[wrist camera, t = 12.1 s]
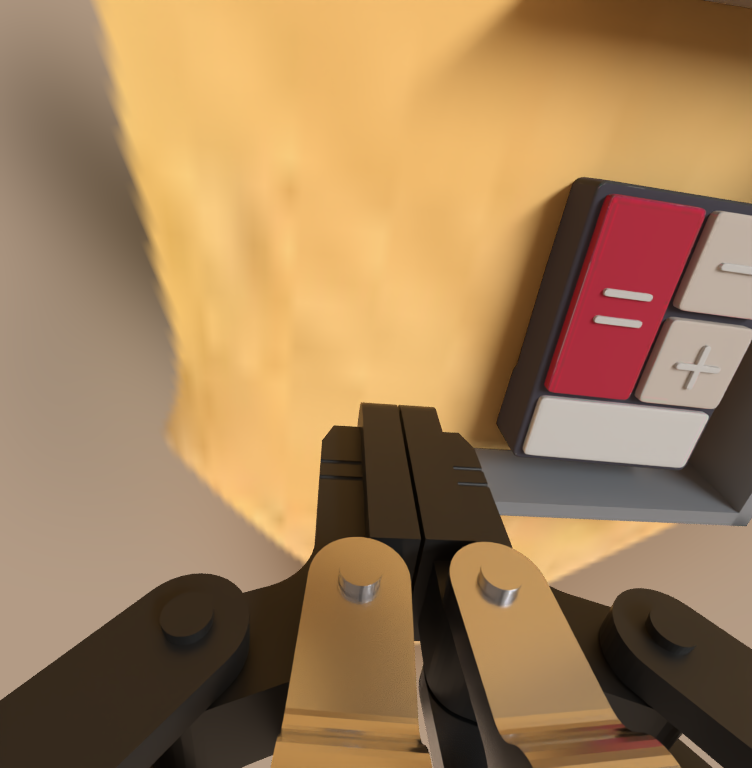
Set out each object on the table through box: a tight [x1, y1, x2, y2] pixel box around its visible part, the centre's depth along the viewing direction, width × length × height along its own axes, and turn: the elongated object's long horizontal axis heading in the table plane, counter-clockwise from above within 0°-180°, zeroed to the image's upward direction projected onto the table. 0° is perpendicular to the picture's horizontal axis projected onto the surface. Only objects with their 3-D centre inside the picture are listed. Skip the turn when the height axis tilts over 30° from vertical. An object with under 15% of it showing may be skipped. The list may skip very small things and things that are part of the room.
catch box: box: [474, 0, 752, 526], centre depth 25 cm, size 26×17×5 cm, turn 173°
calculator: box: [497, 177, 752, 470], centre depth 27 cm, size 11×4×15 cm
